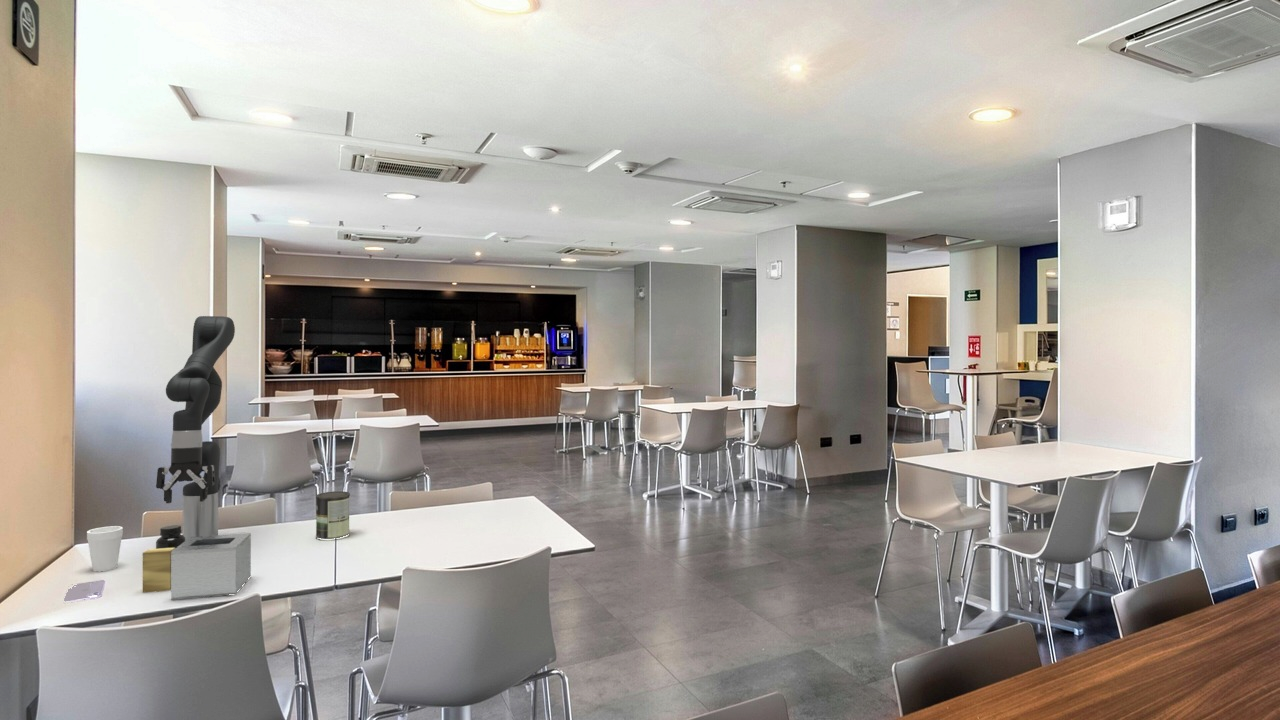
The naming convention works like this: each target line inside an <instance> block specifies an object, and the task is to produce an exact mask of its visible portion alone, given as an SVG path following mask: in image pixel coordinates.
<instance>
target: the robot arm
mask: <svg viewBox="0 0 1280 720" xmlns="http://www.w3.org/2000/svg"><path fill="white" fill-rule="evenodd" d="M235 333H236V327H235V322H234V321H233V319H232V317H229V316H221V315H220V316H217V315H216V316H215V315H214V316H212V315H211V316H210V315H200V316H198V317H196V318H195V320H194V323H193V329H192V346H191V347H192V348H191V350H192V351H191V354H190V355H189V357H188V359H187V360H186V362H185V364H184V365H183V368H182V369H180V370H179V371H177V373H175V375H173V376H172V377H171V378H170V379H169V381H168V382H167V385H166V387H165V394H166V397H167V398H168V399H169V400H170V401H172V402H175V403H185V408H184V409H181V410H177V411H175V412H174V413H173V415H172V434H171V443H170V448H171V450H170V466H169V467H166V466H161V467H158V468H157V472H156V482H155V483H156V485H155V488H156V489H160V490H162V491H163V501H164V502H165V504H171V503H172V502H173V500H172V498H173V489H172V488H173V486H175V484H176V483H177V482H179V483H180V482H189V483H186V484H185V485H184V486H183V487H182V535H183V536H184V537H185V541H186V540H188V539H189V538H190V537H195V536H211V535H219V482H220V463H221V462H220V461H221V448H220V445H219V443H218V442H217V441H214V440H213V441H203V433H202V429H203V428H202V425H203V424H204V423H205V422H206V421H207V420H208V418H210V416H211V415H212V414H213V413H214V412H215V410H216V409H217V408H218V406H219V404H220V402H221V397H222V391H223V390H222V389H223V388H222V387H223V381H222V378H221V377H220V375H219V374H218V372H217V370H216V368H215V367H214V366H215V365H216V362H218V360H219V358H220V357H221V356H222V355H223V354H224V353H225V352H226V350H227V348H229V346H230V345H231V343H232V342H233V340H234V337H235ZM168 472H169V473H170V474H171V478H170V479H168V481H167V483H166V484H165V482H166V475H168ZM202 472H203V476H202V475H201V473H202Z"/></svg>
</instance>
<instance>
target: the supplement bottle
mask: <svg viewBox="0 0 1280 720" xmlns="http://www.w3.org/2000/svg"><path fill="white" fill-rule="evenodd" d="M159 532H160V533H159V536H160V537H159V538H157V539H156V542H155V549H161V548H177V547H178V546H179V545H181V544H182V543H184V542H185V537H184V536H183V534H182V525H167V526H163V527H160V530H159Z"/></svg>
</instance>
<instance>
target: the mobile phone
mask: <svg viewBox="0 0 1280 720" xmlns="http://www.w3.org/2000/svg"><path fill="white" fill-rule="evenodd" d="M76 584H77V585H74V586H76V587H74V586H73V587H72V589H71V588H70V589H68V588H67V589H68V592H67V591H66V592H67V593H66V592H65V594H66V596H65V595H64V597H65V598H64V597H63V599H64V601H65V602H66V601H75V600H83V599H90V600H95V598H96V599H99V598H102V597H103V593H104V590H105V584H106V580H104V579H103V580H102V579H101V580H100V579H99V580H93V581H87V582H81V583H76Z"/></svg>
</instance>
